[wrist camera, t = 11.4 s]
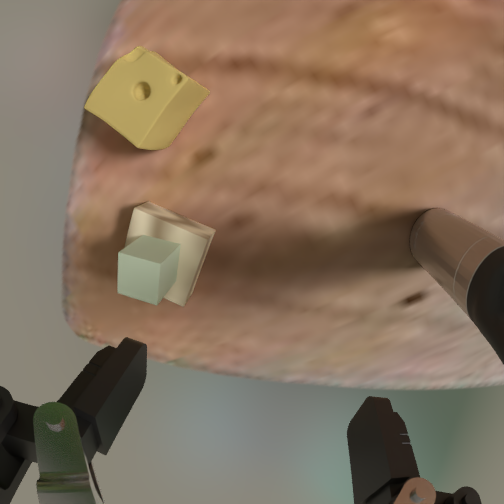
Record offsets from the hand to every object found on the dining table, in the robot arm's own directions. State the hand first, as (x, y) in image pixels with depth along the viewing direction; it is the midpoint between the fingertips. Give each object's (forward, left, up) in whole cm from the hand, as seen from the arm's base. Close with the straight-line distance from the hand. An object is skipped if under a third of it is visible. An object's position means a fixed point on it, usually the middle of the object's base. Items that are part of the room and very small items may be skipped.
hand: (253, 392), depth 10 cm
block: (+14, +10, -28) cm, 33 cm away
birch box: (+14, +10, -34) cm, 38 cm away
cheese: (+19, -11, -33) cm, 40 cm away
